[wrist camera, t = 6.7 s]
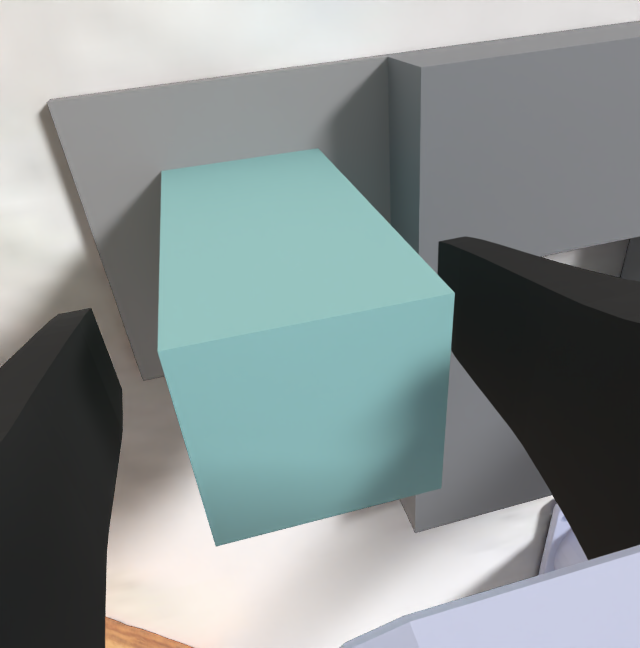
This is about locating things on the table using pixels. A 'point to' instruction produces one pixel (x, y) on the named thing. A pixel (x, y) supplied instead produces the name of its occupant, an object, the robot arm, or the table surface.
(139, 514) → the table surface
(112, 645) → the wooden box
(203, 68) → the table surface
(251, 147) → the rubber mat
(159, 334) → the teal block
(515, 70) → the pocket board
